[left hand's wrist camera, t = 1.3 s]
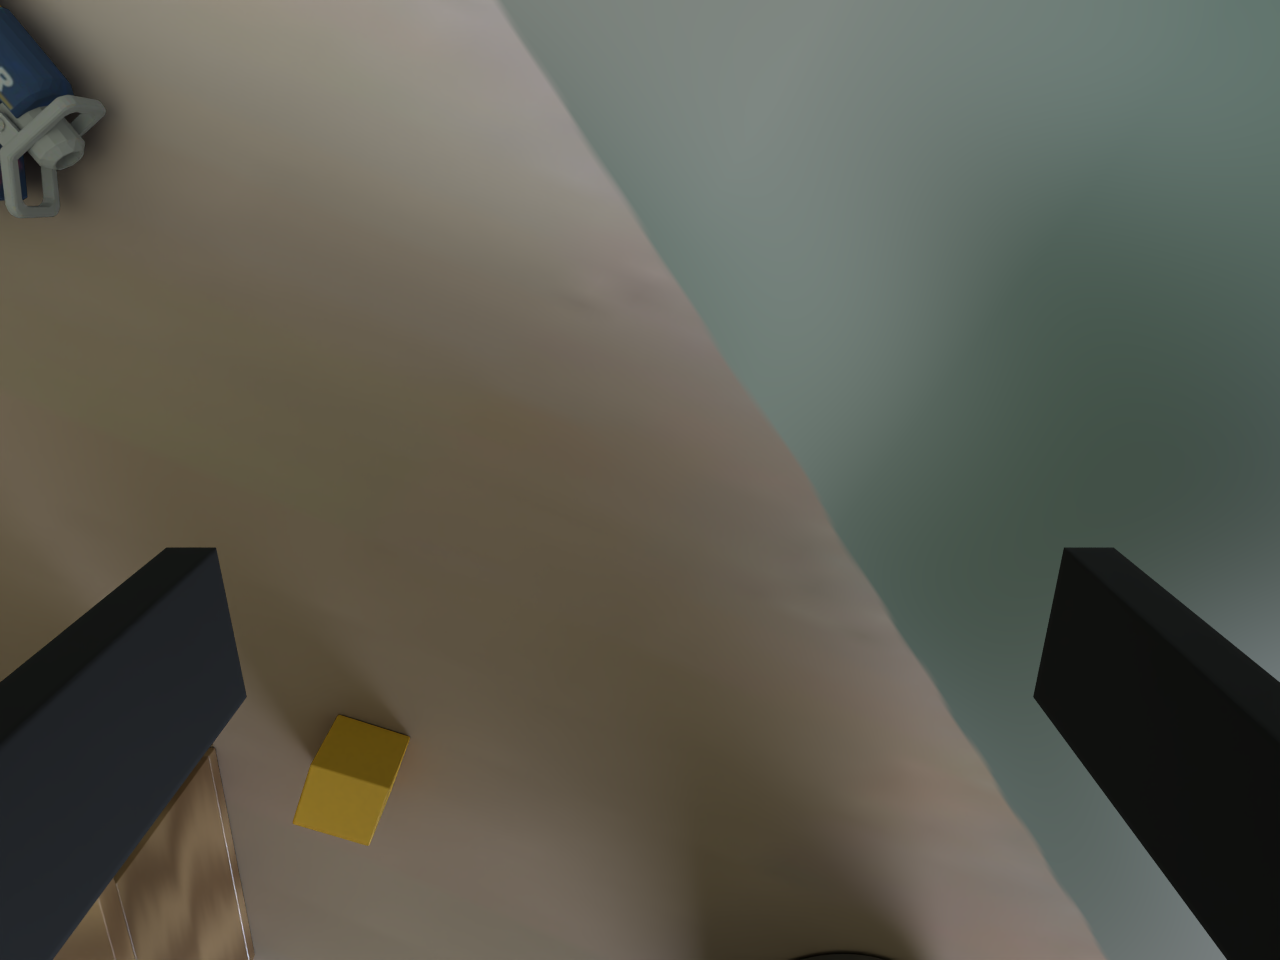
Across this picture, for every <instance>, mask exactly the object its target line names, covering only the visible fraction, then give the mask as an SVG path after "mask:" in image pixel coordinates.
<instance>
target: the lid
mask: <svg viewBox="0 0 1280 960" xmlns="http://www.w3.org/2000/svg"><path fill="white" fill-rule="evenodd" d="M53 960H135V957H134V953H133V949H132V945H131V941H130V938H129V934H128V930H127V926H126V922H125V919H124V915H123V911H122V907H121V903H120V899H119V896H118V892H117V888H116V884H115V880H114V877H113V879H112V880H111V882H110V883H109V884H108V886H107V887H106V888H105V890H104V891H103V892H102V894H101V895H100V896H99V898H98V899H97V901H96V902H95V903H94V905H93V906H92V907H91V909H90V910H89V911H88V913H87V914H86V915H85V917H84V918H83V920H82V921H81V922H80V924H79V925H78V926H77V928H76V929H75V930H74V932H73V933H72V934H71V936H70V937H69V938H68V940H67V941H66V943H65V944H64V945H63V947H62V948H61V949H60V951H59V952H58V953H57V955H56V956H55V957H54V959H53Z"/></svg>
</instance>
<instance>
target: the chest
mask: <svg viewBox="0 0 1280 960" xmlns="http://www.w3.org/2000/svg"><path fill="white" fill-rule="evenodd" d="M114 880H115V884H116V888H117V892H118V896H119V899H120V903H121V907H122V911H123V915H124V919H125V922H126V926H127V930H128V934H129V938H130V941H131V945H132V949H133V953H134V957H135V960H253V958H254V955H255V954H254V949H253V944H252V938H251V933H250V928H249V923H248V918H247V912H246V907H245V902H244V897H243V891H242V886H241V881H240V876H239V871H238V865H237V860H236V855H235V850H234V845H233V839H232V834H231V829H230V824H229V819H228V813H227V808H226V803H225V798H224V792H223V787H222V782H221V777H220V772H219V766H218V761H217V756H216V751H215V748H212V747H209V749H208V750H207V751H206V753H205V754H204V755H203V757H202V758H201V760H200V761H199V762H198V764H197V765H196V766H195V768H194V769H193V770H192V772H191V773H190V774H189V776H188V777H187V779H186V780H185V781H184V783H183V784H182V785H181V787H180V788H179V789H178V791H177V792H176V793H175V795H174V796H173V798H172V799H171V800H170V802H169V803H168V804H167V806H166V807H165V808H164V810H163V811H162V812H161V814H160V815H159V816H158V818H157V819H156V821H155V822H154V823H153V825H152V826H151V827H150V829H149V830H148V831H147V833H146V834H145V835H144V837H143V838H142V840H141V841H140V842H139V844H138V845H137V846H136V848H135V849H134V850H133V852H132V853H131V854H130V856H129V857H128V859H127V860H126V861H125V863H124V864H123V865H122V867H121V868H120V869H119V871H118V872H117V873H116V875H115V876H114Z"/></svg>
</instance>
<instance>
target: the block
mask: <svg viewBox="0 0 1280 960" xmlns="http://www.w3.org/2000/svg"><path fill="white" fill-rule="evenodd" d="M409 740H410V737H409V736H406V735H403V734H399V733H396V732H393V731H390V730H387V729H383V728H380V727H377V726H374V725H371V724H368V723H364V722H361V721H358V720H355V719H352V718H348V717H345V716H342V715H338V716H337V718H336V719H335V721H334V723H333V725H332V727H331V729H330V730H329V732H328V734H327V736H326V738H325V739H324V741H323V743H322V745H321V747H320V749H319V750H318V752H317V754H316V756H315V758H314V760H313V761H312V763H311V765H310V768H309V771H308V775H307V778H306V781H305V784H304V787H303V791H302V794H301V797H300V800H299V803H298V807H297V810H296V813H295V816H294V819H293V824H295V825H299V826H302V827H305V828H309V829H312V830H316V831H319V832H322V833H326V834H329V835H333V836H336V837H339V838H343V839H346V840H350V841H353V842H356V843H360V844H363V845H367V846H369V845H370V843H371V840H372V838H373V835H374V833H375V830H376V827H377V825H378V822H379V820H380V817H381V815H382V812H383V810H384V807H385V805H386V802H387V800H388V797H389V795H390V792H391V790H392V787H393V784H394V781H395V779H396V776H397V773H398V770H399V768H400V765H401V762H402V759H403V756H404V754H405V751H406V748H407V745H408V743H409Z"/></svg>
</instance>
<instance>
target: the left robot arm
mask: <svg viewBox="0 0 1280 960" xmlns="http://www.w3.org/2000/svg"><path fill="white" fill-rule="evenodd" d="M246 697H247V696H246V691H245V686H244V682H243V677H242V672H241V667H240V662H239V657H238V652H237V648H236V643H235V638H234V633H233V628H232V623H231V618H230V614H229V609H228V604H227V599H226V594H225V589H224V584H223V579H222V575H221V570H220V565H219V560H218V555H217V550H216V548H165V549H164V550H163V551H162V552H161V553H159V554H158V555H157V556H156V557H154V558H153V559H152V560H151V561H149V562H148V563H147V564H146V565H144V566H143V567H142V568H141V569H140V570H138V571H137V572H136V573H135V574H133V575H132V576H131V577H130V578H128V579H127V580H126V581H125V582H124V583H122V584H121V585H120V586H119V587H117V588H116V589H115V590H114V591H112V592H111V593H110V594H109V595H107V596H106V597H105V598H104V599H103V600H101V601H100V602H99V603H98V604H96V605H95V606H94V607H93V608H91V609H90V610H89V611H88V612H87V613H85V614H84V615H83V616H82V617H80V618H79V619H78V620H77V621H75V622H74V623H73V624H72V625H70V626H69V627H68V628H67V629H66V630H64V631H63V632H62V633H61V634H59V635H58V636H57V637H56V638H54V639H53V640H52V641H51V642H50V643H48V644H47V645H46V646H45V647H43V648H42V649H41V650H40V651H38V652H37V653H36V654H35V655H33V656H32V657H31V658H30V659H29V660H27V661H26V662H25V663H24V664H22V665H21V666H20V667H19V668H17V669H16V670H15V671H14V672H13V673H11V674H10V675H9V676H8V677H6V678H5V679H4V680H3V681H1V682H0V960H53V959H54V957H55V956H56V955H57V953H58V952H59V951H60V949H61V948H62V947H63V945H64V944H65V943H66V941H67V940H68V938H69V937H70V936H71V934H72V933H73V932H74V930H75V929H76V928H77V926H78V925H79V924H80V922H81V921H82V920H83V918H84V917H85V915H86V914H87V913H88V911H89V910H90V909H91V907H92V906H93V905H94V903H95V902H96V901H97V899H98V898H99V896H100V895H101V894H102V892H103V891H104V890H105V888H106V887H107V886H108V884H109V883H110V882H111V880H112V879H113V877H114V876H115V875H116V873H117V872H118V871H119V869H120V868H121V867H122V865H123V864H124V863H125V861H126V860H127V859H128V857H129V856H130V854H131V853H132V852H133V850H134V849H135V848H136V846H137V845H138V844H139V842H140V841H141V840H142V838H143V837H144V835H145V834H146V833H147V831H148V830H149V829H150V827H151V826H152V825H153V823H154V822H155V821H156V819H157V818H158V816H159V815H160V814H161V812H162V811H163V810H164V808H165V807H166V806H167V804H168V803H169V802H170V800H171V799H172V798H173V796H174V795H175V793H176V792H177V791H178V789H179V788H180V787H181V785H182V784H183V783H184V781H185V780H186V779H187V777H188V776H189V774H190V773H191V772H192V770H193V769H194V768H195V766H196V765H197V764H198V762H199V761H200V760H201V758H202V757H203V755H204V754H205V753H206V751H207V750H208V749H209V747H210V746H211V745H212V743H213V742H214V741H215V739H216V738H217V736H218V735H219V734H220V732H221V731H222V730H223V728H224V727H225V726H226V724H227V723H228V722H229V720H230V719H231V718H232V716H233V715H234V713H235V712H236V711H237V709H238V708H239V707H240V705H241V704H242V703H243V701H244V700H245V699H246ZM1033 697H1034V699H1035V700H1036V701H1037V703H1038V704H1039V705H1040V707H1041V708H1042V709H1043V711H1044V712H1045V713H1046V715H1047V716H1048V717H1049V719H1050V720H1051V722H1052V723H1053V724H1054V726H1055V727H1056V728H1057V730H1058V731H1059V732H1060V734H1061V735H1062V736H1063V738H1064V739H1065V741H1066V742H1067V743H1068V745H1069V746H1070V747H1071V749H1072V750H1073V751H1074V753H1075V754H1076V755H1077V757H1078V758H1079V759H1080V761H1081V762H1082V764H1083V765H1084V766H1085V768H1086V769H1087V770H1088V772H1089V773H1090V774H1091V776H1092V777H1093V779H1094V780H1095V781H1096V783H1097V784H1098V785H1099V787H1100V788H1101V789H1102V791H1103V792H1104V793H1105V795H1106V796H1107V798H1108V799H1109V800H1110V802H1111V803H1112V804H1113V806H1114V807H1115V808H1116V810H1117V811H1118V812H1119V814H1120V815H1121V816H1122V818H1123V819H1124V821H1125V822H1126V823H1127V825H1128V826H1129V827H1130V829H1131V830H1132V831H1133V833H1134V834H1135V835H1136V837H1137V838H1138V840H1139V841H1140V842H1141V844H1142V845H1143V846H1144V848H1145V849H1146V850H1147V852H1148V853H1149V854H1150V856H1151V857H1152V858H1153V860H1154V861H1155V863H1156V864H1157V865H1158V867H1159V868H1160V869H1161V871H1162V872H1163V873H1164V875H1165V876H1166V877H1167V879H1168V880H1169V882H1170V883H1171V884H1172V886H1173V887H1174V888H1175V890H1176V891H1177V892H1178V894H1179V895H1180V896H1181V898H1182V899H1183V901H1184V902H1185V903H1186V905H1187V906H1188V907H1189V909H1190V910H1191V911H1192V913H1193V914H1194V915H1195V917H1196V918H1197V920H1198V921H1199V922H1200V924H1201V925H1202V926H1203V928H1204V929H1205V930H1206V932H1207V933H1208V934H1209V936H1210V937H1211V938H1212V940H1213V941H1214V943H1215V944H1216V945H1217V947H1218V948H1219V949H1220V951H1221V952H1222V953H1223V955H1224V956H1225V957H1226V959H1227V960H1280V682H1279V681H1277V680H1276V679H1275V678H1274V677H1272V676H1271V675H1270V674H1269V673H1267V672H1266V671H1265V670H1264V669H1263V668H1261V667H1260V666H1259V665H1258V664H1256V663H1255V662H1254V661H1253V660H1251V659H1250V658H1249V657H1248V656H1247V655H1245V654H1244V653H1243V652H1242V651H1240V650H1239V649H1238V648H1237V647H1235V646H1234V645H1233V644H1232V643H1230V642H1229V641H1228V640H1227V639H1226V638H1224V637H1223V636H1222V635H1221V634H1219V633H1218V632H1217V631H1216V630H1214V629H1213V628H1212V627H1211V626H1210V625H1208V624H1207V623H1206V622H1205V621H1203V620H1202V619H1201V618H1200V617H1198V616H1197V615H1196V614H1195V613H1193V612H1192V611H1191V610H1190V609H1189V608H1187V607H1186V606H1185V605H1184V604H1182V603H1181V602H1180V601H1179V600H1177V599H1176V598H1175V597H1174V596H1173V595H1171V594H1170V593H1169V592H1168V591H1166V590H1165V589H1164V588H1163V587H1161V586H1160V585H1159V584H1158V583H1156V582H1155V581H1154V580H1153V579H1152V578H1150V577H1149V576H1148V575H1147V574H1145V573H1144V572H1143V571H1142V570H1140V569H1139V568H1138V567H1137V566H1135V565H1134V564H1133V563H1132V562H1130V561H1129V560H1128V559H1127V558H1126V557H1124V556H1123V555H1122V554H1121V553H1119V552H1118V551H1117V550H1116V549H1115V548H1064V550H1063V555H1062V560H1061V565H1060V570H1059V575H1058V579H1057V584H1056V589H1055V594H1054V599H1053V604H1052V609H1051V614H1050V618H1049V623H1048V628H1047V633H1046V638H1045V643H1044V648H1043V652H1042V657H1041V662H1040V667H1039V672H1038V677H1037V682H1036V686H1035V691H1034V696H1033ZM802 960H884V959H880V958H876V957H871V956H865V955H856V954H831V955H821V956H815V957H810V958H806V959H802Z"/></svg>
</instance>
